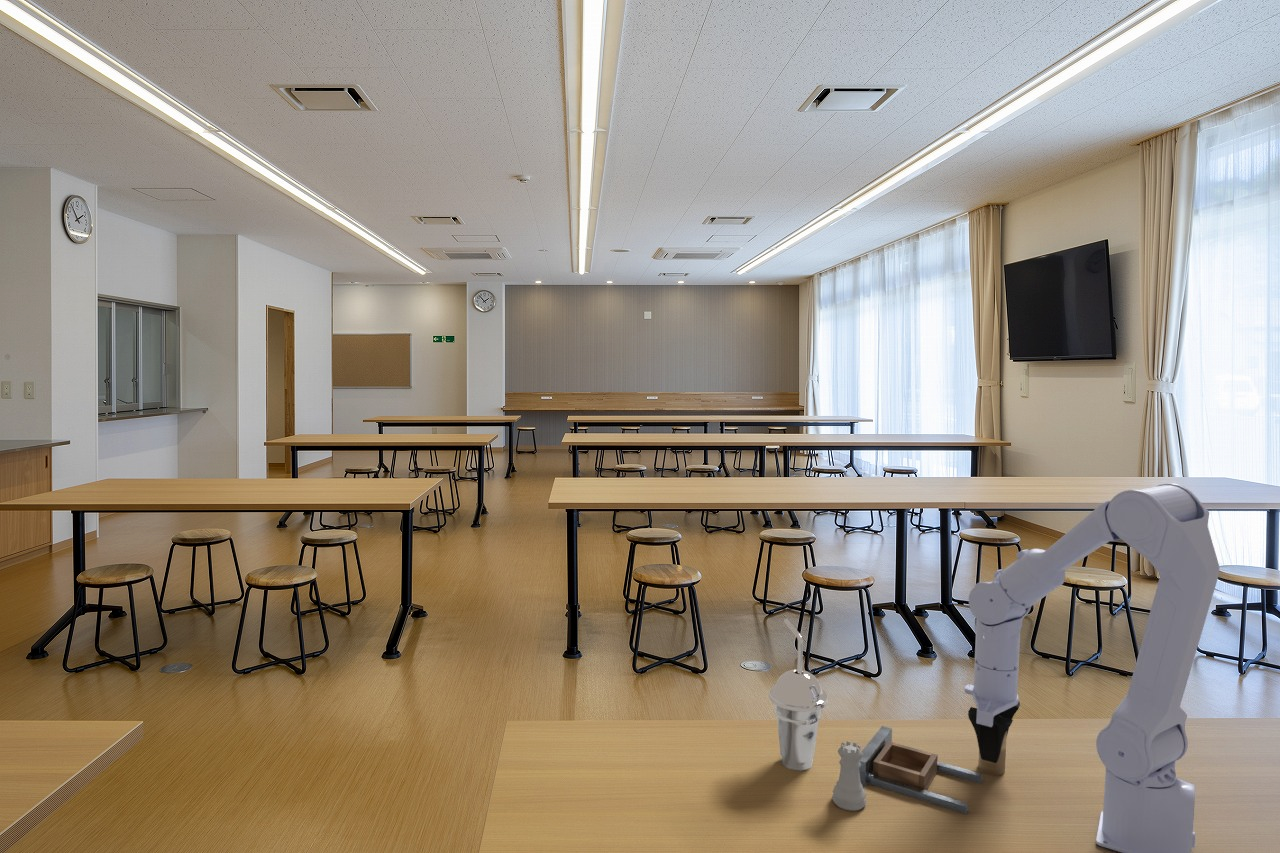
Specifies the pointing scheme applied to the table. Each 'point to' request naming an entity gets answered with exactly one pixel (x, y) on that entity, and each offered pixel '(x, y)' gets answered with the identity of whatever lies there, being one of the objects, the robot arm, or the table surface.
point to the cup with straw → (797, 711)
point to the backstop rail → (869, 778)
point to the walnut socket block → (906, 765)
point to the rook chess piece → (849, 779)
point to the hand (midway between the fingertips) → (992, 754)
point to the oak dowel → (994, 767)
